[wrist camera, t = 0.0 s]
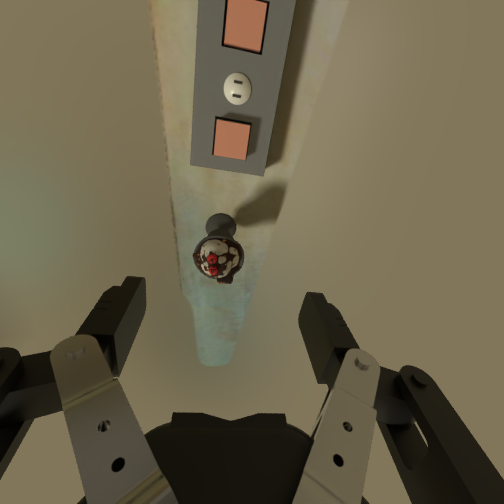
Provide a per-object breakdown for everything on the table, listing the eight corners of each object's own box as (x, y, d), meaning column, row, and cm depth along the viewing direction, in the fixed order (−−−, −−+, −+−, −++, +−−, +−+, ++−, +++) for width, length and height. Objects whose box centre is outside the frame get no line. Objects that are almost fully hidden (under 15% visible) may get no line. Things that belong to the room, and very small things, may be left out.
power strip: (206, -86, 26) (203, -115, 23) (301, -58, 27) (311, -81, 24) (193, 160, 37) (189, 165, 34) (260, 171, 39) (263, 176, 35)
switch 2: (217, 118, 32) (216, 119, 30) (248, 124, 33) (250, 125, 31) (214, 152, 34) (213, 155, 32) (244, 157, 35) (245, 160, 33)
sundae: (204, 203, 40) (193, 249, 27) (245, 214, 42) (253, 262, 29) (196, 240, 43) (182, 296, 30) (234, 248, 45) (237, 306, 32)
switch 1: (228, 2, 28) (228, -7, 26) (264, 11, 29) (266, 3, 27) (224, 47, 30) (224, 42, 28) (257, 55, 31) (260, 50, 28)
